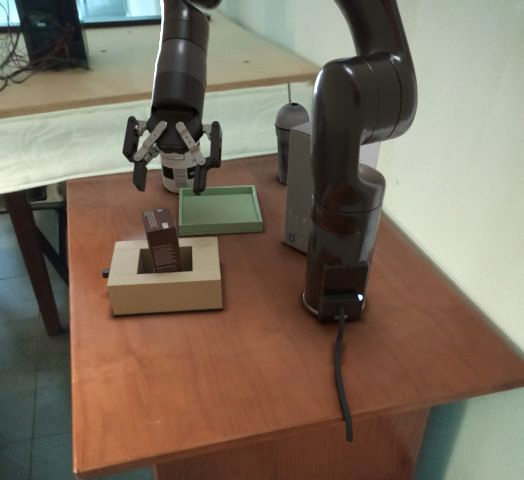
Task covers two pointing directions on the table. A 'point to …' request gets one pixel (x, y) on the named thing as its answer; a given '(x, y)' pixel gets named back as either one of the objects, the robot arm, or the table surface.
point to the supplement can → (178, 170)
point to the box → (162, 241)
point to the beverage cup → (287, 131)
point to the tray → (219, 211)
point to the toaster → (164, 279)
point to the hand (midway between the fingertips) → (168, 191)
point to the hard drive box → (307, 184)
